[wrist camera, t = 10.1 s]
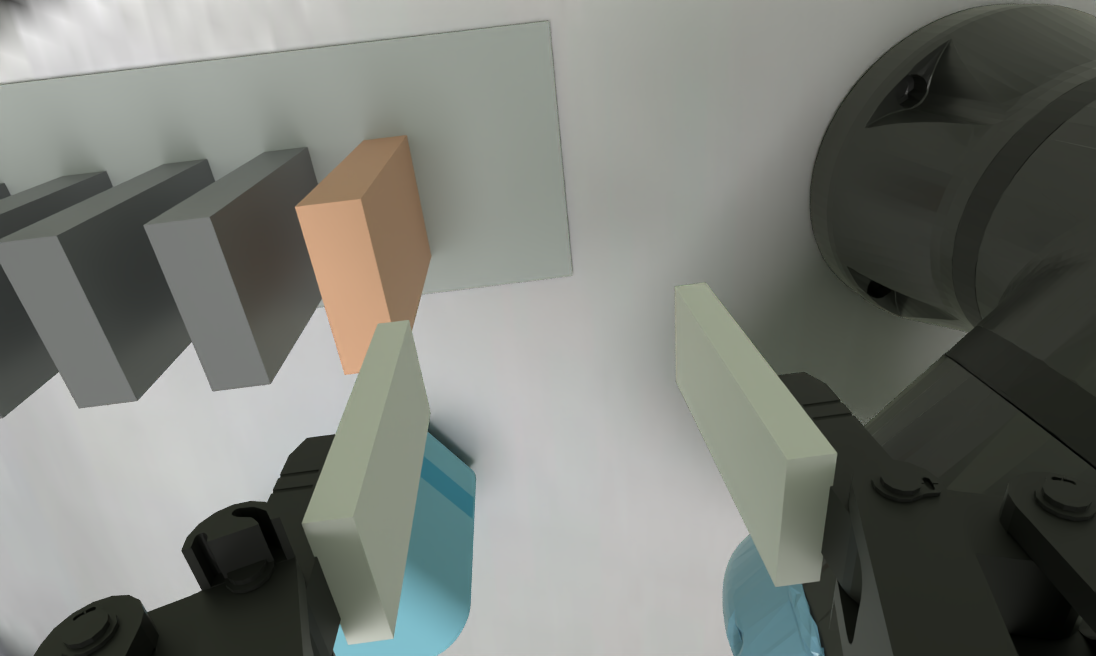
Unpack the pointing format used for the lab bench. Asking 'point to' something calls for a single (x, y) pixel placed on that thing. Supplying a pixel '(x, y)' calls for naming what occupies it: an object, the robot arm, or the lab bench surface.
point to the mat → (337, 133)
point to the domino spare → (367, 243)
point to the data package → (432, 562)
